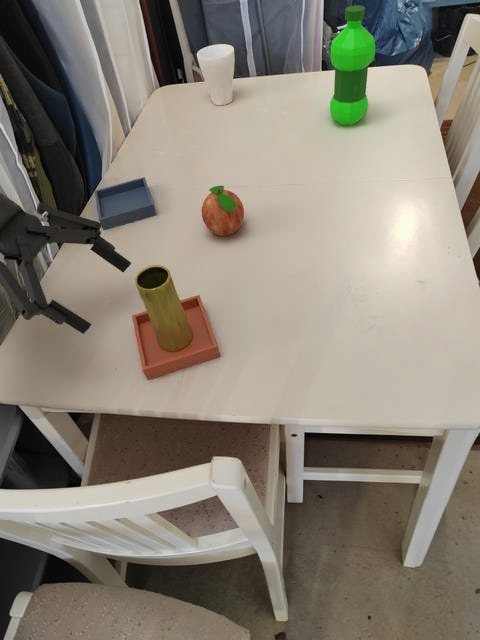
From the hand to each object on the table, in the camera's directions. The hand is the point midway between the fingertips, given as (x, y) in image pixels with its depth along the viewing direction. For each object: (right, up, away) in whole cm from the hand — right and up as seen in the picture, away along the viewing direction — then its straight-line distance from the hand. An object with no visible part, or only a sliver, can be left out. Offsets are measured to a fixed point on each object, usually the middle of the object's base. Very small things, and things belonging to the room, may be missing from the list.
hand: (108, 296), depth 71 cm
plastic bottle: (+49, +48, +45) cm, 83 cm away
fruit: (+18, +15, +22) cm, 32 cm away
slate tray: (-5, +22, +32) cm, 39 cm away
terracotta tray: (+10, -7, +4) cm, 13 cm away
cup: (+16, +62, +62) cm, 89 cm away
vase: (+10, -7, +4) cm, 13 cm away
